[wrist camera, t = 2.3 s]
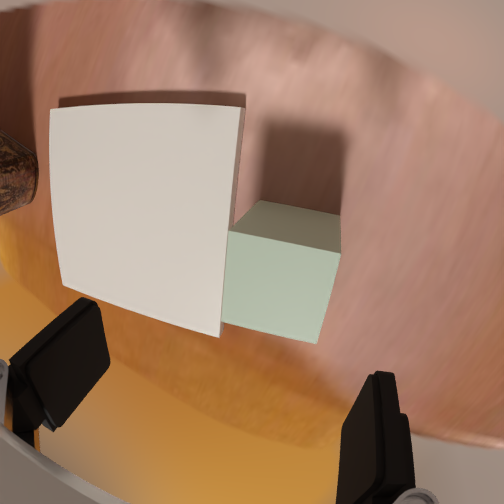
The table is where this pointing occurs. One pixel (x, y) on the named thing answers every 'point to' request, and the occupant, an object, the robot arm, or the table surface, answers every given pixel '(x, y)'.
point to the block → (281, 270)
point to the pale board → (147, 205)
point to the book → (16, 174)
